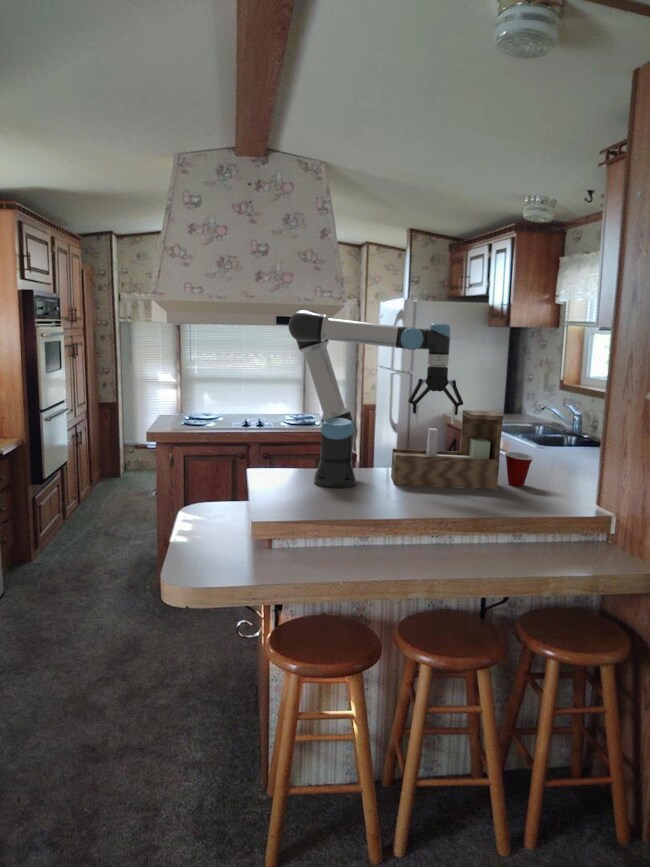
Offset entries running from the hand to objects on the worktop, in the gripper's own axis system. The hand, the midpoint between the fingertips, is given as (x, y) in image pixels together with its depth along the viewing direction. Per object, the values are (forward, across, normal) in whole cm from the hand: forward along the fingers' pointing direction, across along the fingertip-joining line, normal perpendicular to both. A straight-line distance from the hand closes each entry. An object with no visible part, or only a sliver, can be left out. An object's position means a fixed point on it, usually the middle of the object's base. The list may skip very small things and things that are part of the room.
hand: (434, 423), depth 248 cm
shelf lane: (+23, +4, 0) cm, 23 cm away
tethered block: (+13, +9, 0) cm, 16 cm away
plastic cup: (+23, +34, +3) cm, 41 cm away
